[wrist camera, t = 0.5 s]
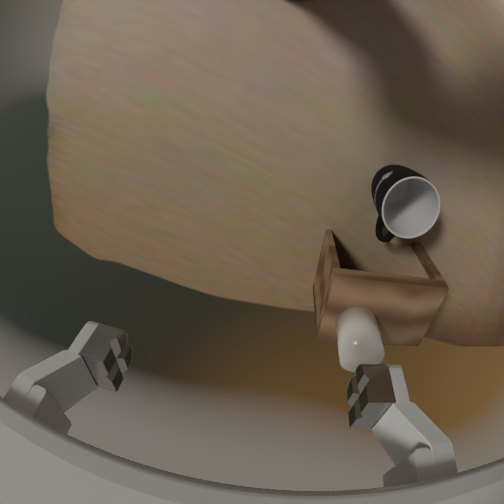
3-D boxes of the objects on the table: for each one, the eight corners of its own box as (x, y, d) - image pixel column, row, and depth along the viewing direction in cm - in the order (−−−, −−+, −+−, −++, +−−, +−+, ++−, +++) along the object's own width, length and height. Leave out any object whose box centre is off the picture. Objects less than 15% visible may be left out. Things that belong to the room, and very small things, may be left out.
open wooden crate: (325, 229, 49) (334, 275, 38) (419, 243, 48) (448, 288, 36) (312, 287, 55) (316, 340, 44) (399, 296, 54) (418, 345, 43)
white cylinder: (341, 304, 40) (347, 341, 34) (380, 307, 39) (391, 343, 33) (331, 334, 43) (334, 371, 37) (368, 337, 43) (375, 372, 37)
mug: (378, 148, 41) (399, 164, 33) (423, 171, 42) (451, 193, 33) (348, 214, 47) (360, 244, 39) (392, 232, 48) (411, 264, 39)
